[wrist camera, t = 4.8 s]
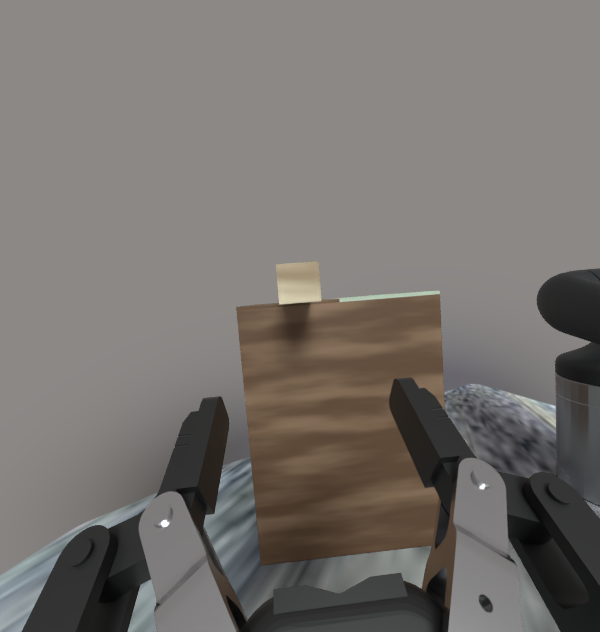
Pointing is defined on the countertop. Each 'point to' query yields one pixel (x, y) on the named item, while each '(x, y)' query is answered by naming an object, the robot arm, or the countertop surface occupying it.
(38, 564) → the countertop surface
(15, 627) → the countertop surface
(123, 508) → the countertop surface
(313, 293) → the beech baton
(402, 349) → the walnut stand
